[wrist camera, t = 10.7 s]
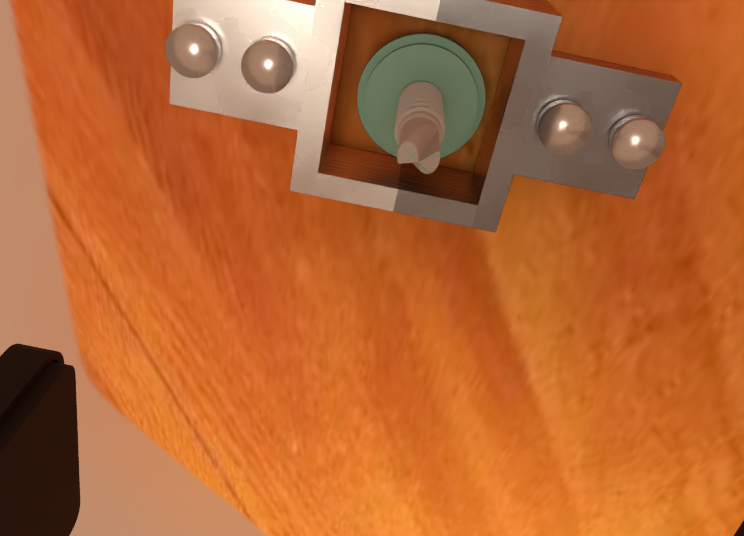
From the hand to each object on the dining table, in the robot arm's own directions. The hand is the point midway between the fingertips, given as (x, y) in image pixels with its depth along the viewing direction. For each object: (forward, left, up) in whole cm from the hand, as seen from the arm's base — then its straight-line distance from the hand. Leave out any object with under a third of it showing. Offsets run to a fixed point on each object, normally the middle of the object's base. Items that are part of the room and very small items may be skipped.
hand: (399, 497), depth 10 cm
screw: (0, 0, -22) cm, 22 cm away
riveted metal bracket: (0, 0, -22) cm, 22 cm away
